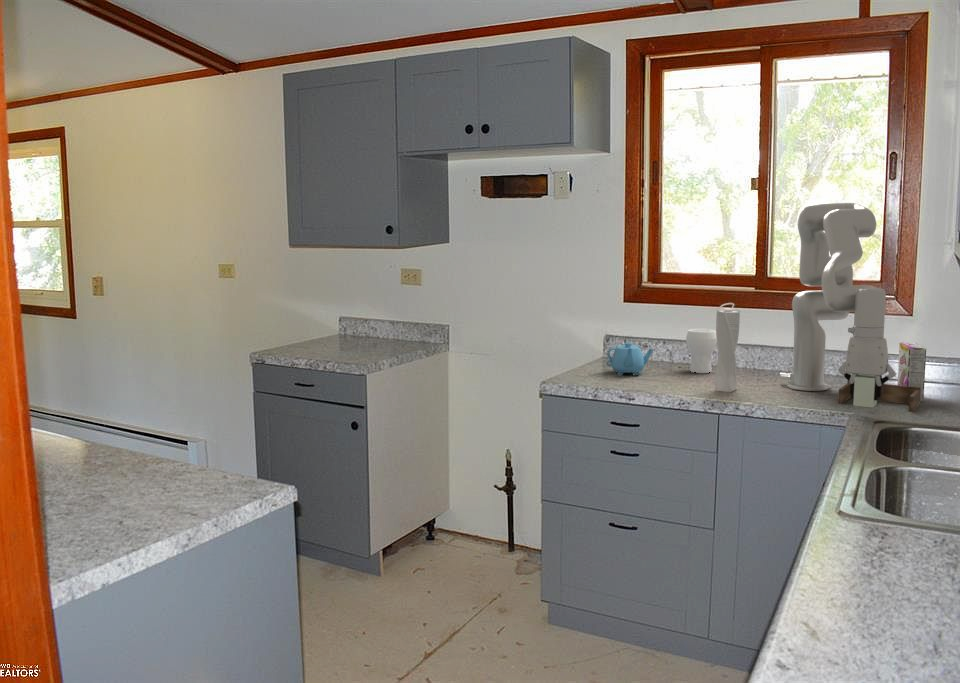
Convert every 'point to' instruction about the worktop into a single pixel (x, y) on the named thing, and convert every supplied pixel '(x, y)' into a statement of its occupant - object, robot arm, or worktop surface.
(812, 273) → the robot arm
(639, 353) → the teapot
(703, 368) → the cup
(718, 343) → the skyscraper
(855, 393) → the sage block
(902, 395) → the walnut u-shaped bracket
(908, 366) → the candy bar box
